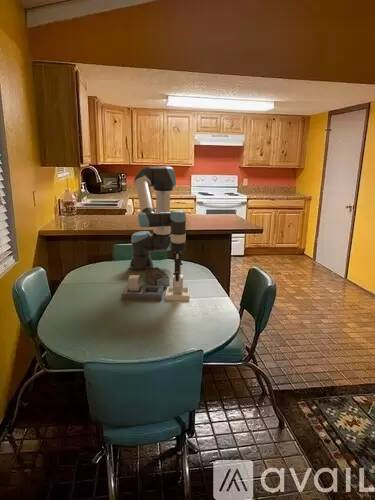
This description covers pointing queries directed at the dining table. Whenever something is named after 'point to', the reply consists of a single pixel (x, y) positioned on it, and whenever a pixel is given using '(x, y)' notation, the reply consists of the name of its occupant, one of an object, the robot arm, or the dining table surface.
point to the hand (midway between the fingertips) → (177, 281)
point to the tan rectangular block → (178, 289)
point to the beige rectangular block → (134, 283)
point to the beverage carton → (157, 277)
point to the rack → (144, 293)
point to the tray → (170, 295)
